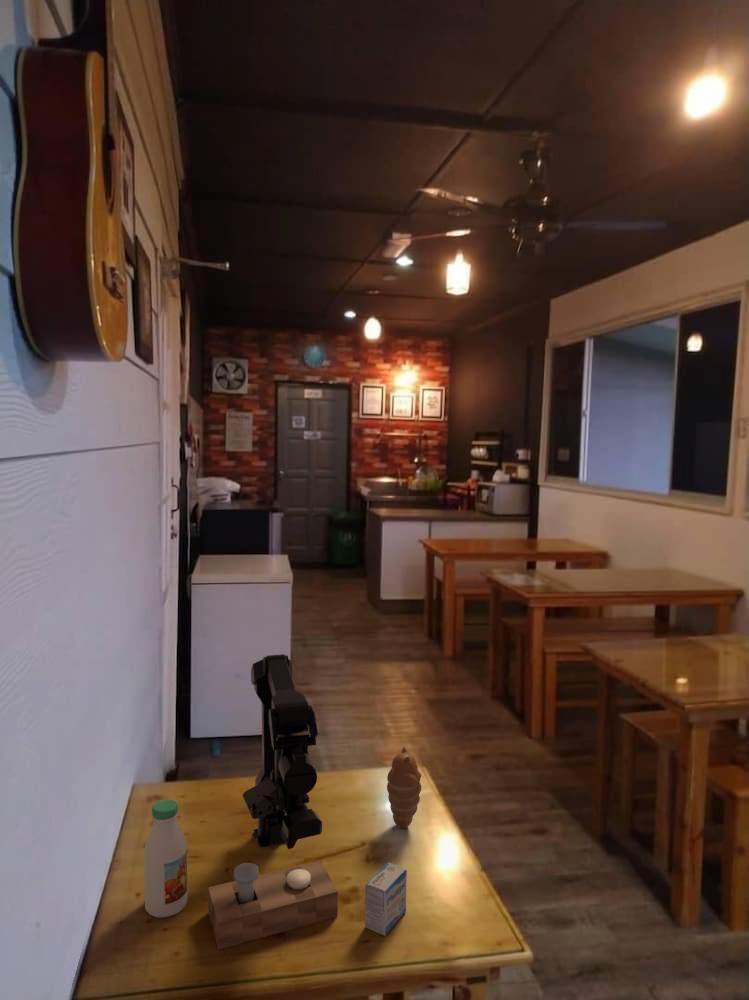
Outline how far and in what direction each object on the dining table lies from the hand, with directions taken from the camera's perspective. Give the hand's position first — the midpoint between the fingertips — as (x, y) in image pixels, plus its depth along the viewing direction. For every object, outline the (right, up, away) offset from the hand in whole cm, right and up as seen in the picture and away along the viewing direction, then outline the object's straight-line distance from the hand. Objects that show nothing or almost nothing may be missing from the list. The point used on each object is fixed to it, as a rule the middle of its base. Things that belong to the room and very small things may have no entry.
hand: (290, 847), depth 129 cm
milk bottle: (-24, -12, +2) cm, 27 cm away
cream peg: (+1, -12, +2) cm, 12 cm away
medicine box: (+18, -13, -1) cm, 22 cm away
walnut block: (-3, -13, 0) cm, 13 cm away
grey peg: (-8, -8, -2) cm, 11 cm away
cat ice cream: (+22, -10, +29) cm, 38 cm away
